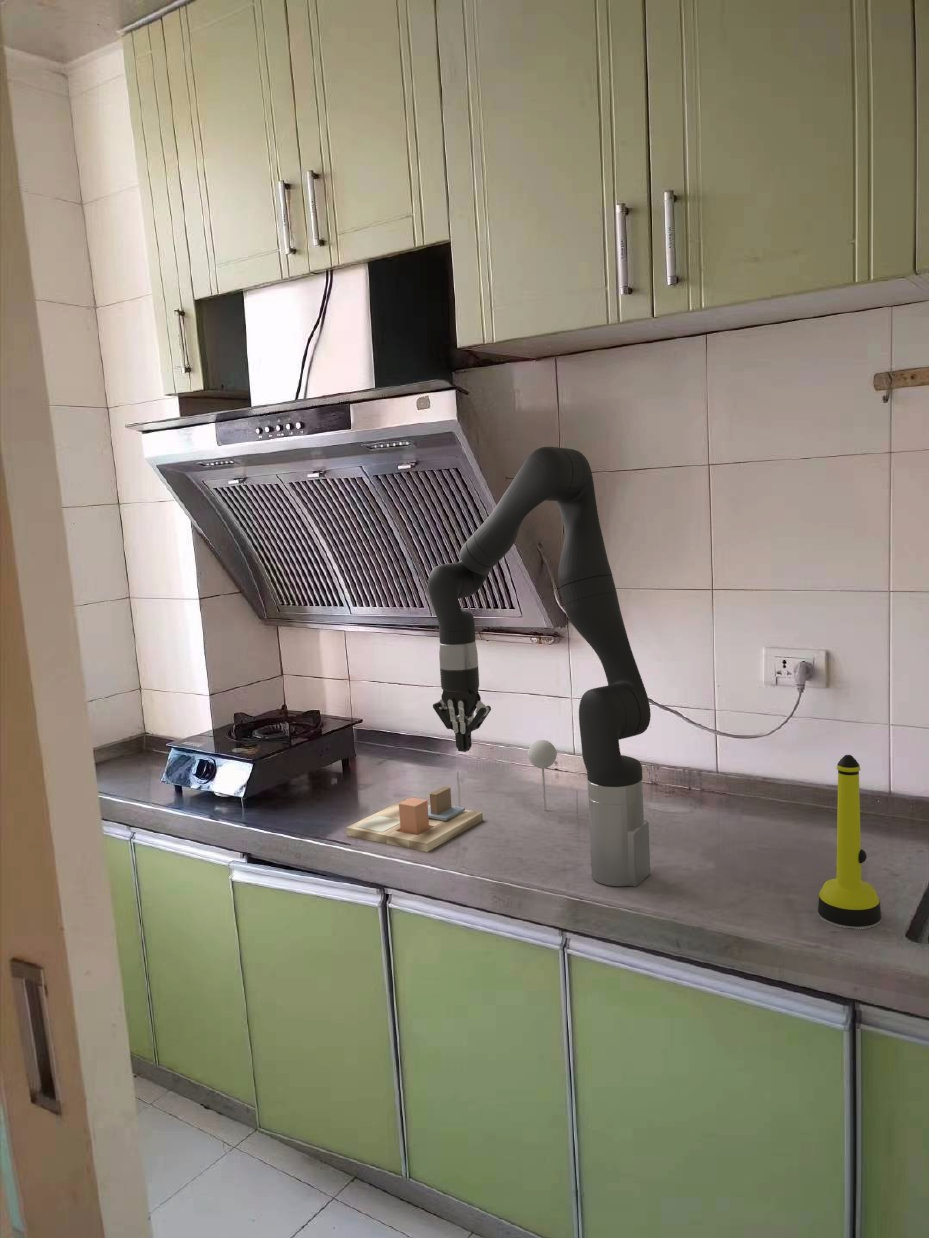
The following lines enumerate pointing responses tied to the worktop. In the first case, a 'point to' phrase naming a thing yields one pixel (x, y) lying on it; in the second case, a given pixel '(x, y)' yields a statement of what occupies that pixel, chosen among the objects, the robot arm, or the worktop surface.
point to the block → (414, 816)
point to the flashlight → (849, 861)
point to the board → (388, 831)
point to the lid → (442, 805)
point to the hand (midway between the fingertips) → (463, 750)
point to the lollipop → (542, 758)
